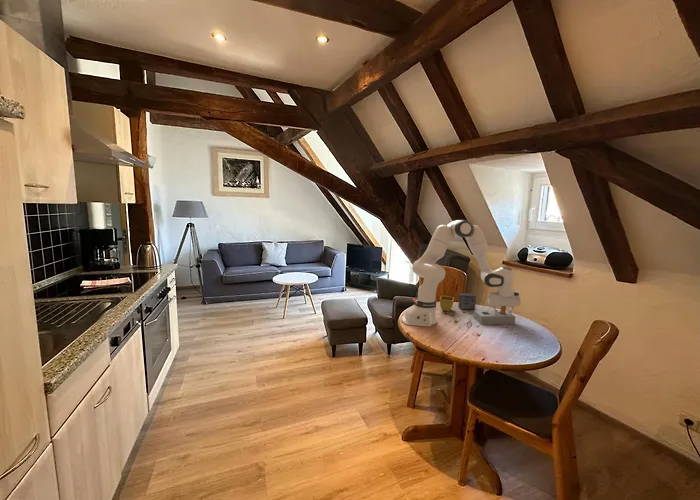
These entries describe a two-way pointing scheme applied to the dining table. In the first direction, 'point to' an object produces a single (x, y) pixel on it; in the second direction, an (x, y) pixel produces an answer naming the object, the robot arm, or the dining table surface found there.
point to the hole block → (493, 317)
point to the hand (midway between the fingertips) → (502, 312)
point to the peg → (502, 310)
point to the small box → (467, 301)
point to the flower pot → (446, 303)
